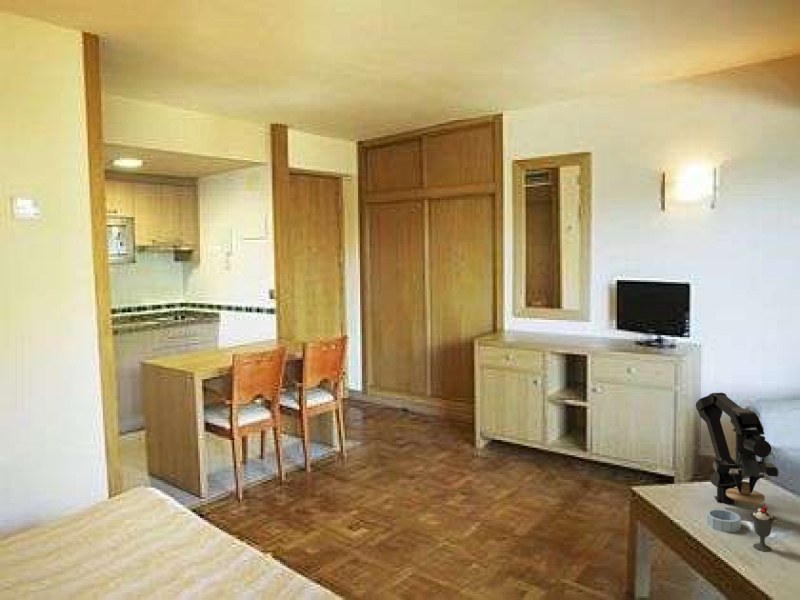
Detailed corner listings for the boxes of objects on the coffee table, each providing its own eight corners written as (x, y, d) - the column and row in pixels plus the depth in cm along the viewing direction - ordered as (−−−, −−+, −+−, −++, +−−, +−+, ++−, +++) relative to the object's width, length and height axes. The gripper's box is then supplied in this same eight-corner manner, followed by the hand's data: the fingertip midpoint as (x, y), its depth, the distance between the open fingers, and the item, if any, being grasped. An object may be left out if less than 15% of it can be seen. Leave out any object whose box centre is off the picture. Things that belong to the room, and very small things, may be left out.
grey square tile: (724, 509, 207) (724, 507, 207) (756, 511, 204) (756, 509, 204) (732, 521, 198) (732, 519, 197) (765, 524, 195) (765, 522, 195)
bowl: (702, 518, 200) (703, 507, 200) (735, 521, 197) (735, 510, 197) (709, 531, 190) (709, 520, 190) (744, 535, 188) (744, 523, 187)
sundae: (763, 554, 175) (763, 506, 174) (744, 544, 182) (745, 497, 181) (780, 551, 177) (781, 503, 176) (761, 541, 183) (762, 495, 182)
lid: (721, 488, 207) (721, 475, 207) (758, 491, 204) (758, 478, 204) (730, 501, 196) (730, 487, 196) (769, 504, 193) (769, 490, 193)
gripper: (720, 453, 194) (720, 499, 195) (784, 457, 189) (784, 504, 190) (712, 443, 205) (712, 486, 206) (772, 446, 200) (772, 491, 201)
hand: (744, 492), depth 200 cm, fingers closed on lid, 3 cm apart
